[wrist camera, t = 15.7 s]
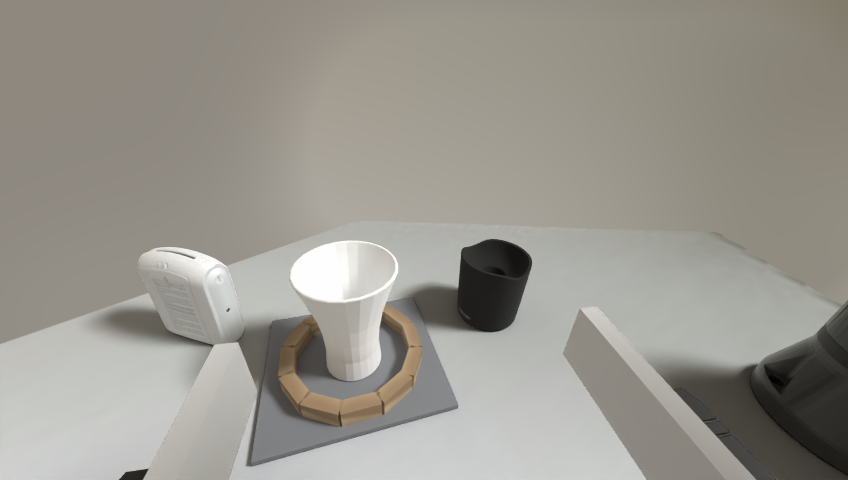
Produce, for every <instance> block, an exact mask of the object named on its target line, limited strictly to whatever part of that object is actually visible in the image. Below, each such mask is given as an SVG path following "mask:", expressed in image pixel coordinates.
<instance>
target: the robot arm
mask: <svg viewBox="0 0 848 480" xmlns="http://www.w3.org/2000/svg"><path fill="white" fill-rule="evenodd" d="M563 354H564V356H565V357H566V359H567V360H568V362H569V363H570V365H571V366H572V368H573V369H574V371H575V372H576V374H577V375H578V377H579V378H580V380H581V381H582V383H583V384H584V386H585V387H586V389H587V390H588V392H589V393H590V395H591V396H592V398H593V399H594V401H595V402H596V404H597V405H598V407H599V408H600V410H601V411H602V413H603V415H604V416H605V418H606V419H607V421H608V422H609V424H610V425H611V427H612V428H613V430H614V431H615V433H616V434H617V436H618V437H619V439H620V440H621V442H622V443H623V445H624V446H625V448H626V449H627V451H628V452H629V454H630V455H631V457H632V458H633V460H634V461H635V463H636V464H637V466H638V467H639V469H640V470H641V472H642V473H643V475H644V476H645V478H646V479H647V480H776V479H775V478H774V477H773V476H772V475H771V474H770V473H769V472H768V471H767V470H766V469H765V468H764V467H763V466H762V465H761V464H760V463H759V462H758V461H757V460H756V459H755V458H754V457H753V456H752V455H751V454H750V453H749V451H748V450H747V449H746V448H745V447H744V446H743V445H742V444H741V443H740V442H739V441H738V440H737V439H736V438H735V437H734V436H733V435H730V433H729V431H728V430H727V429H726V428H725V427H724V426H723V425H722V424H721V423H720V422H718V421H717V420H716V417H715V416H714V415H713V414H712V413H711V412H710V411H709V410H708V409H707V408H706V407H705V406H704V405H703V404H702V403H701V402H700V401H699V400H697V399H696V398H694V397H693V396H692V395H690V394H689V393H687V392H686V391H685V390H683V389H682V388H679V389H672V388H671V387H670V386H669V385H668V383H667V382H666V381H665V380H664V379H663V378H662V377H661V376H660V375H659V374H658V373H657V372H656V370H655V369H654V368H653V367H652V366H651V365H650V364H649V363H648V362H647V361H646V360H645V359H644V357H643V356H642V355H641V354H640V353H639V352H638V351H637V350H636V349H635V348H634V347H633V346H632V344H631V343H630V342H629V341H628V340H627V339H626V338H625V337H624V336H623V335H622V334H621V333H620V331H619V330H618V329H617V328H616V327H615V326H614V325H613V324H612V323H611V322H610V321H609V320H608V318H607V317H606V316H605V315H604V314H603V313H602V312H601V311H600V310H599V309H598V308H597V307H588V308H580V309H579V312H578V315H577V317H576V320H575V323H574V325H573V328H572V331H571V333H570V336H569V339H568V341H567V344H566V347H565V349H564V352H563ZM750 382H751V386H752V389H753V391H754V394H755V395H756V397H757V399H758V400H759V402H760V403H761V405H762V406H763V407H764V408H765V410H766V411H767V412H768V413H769V414H770V415H771V417H772V418H773V419H774V420H775V421H776V422H777V423H778V424H779V425H780V426H781V427H783V428H784V429H785V430H786V431H787V432H788V433H789V434H790V435H792V436H793V437H794V438H795V439H796V440H798V441H799V442H800V443H801V444H803V445H804V446H805V447H807V448H808V449H809V450H811V451H812V452H813V453H815V454H816V455H818V456H819V457H821V458H822V459H823V460H825V461H827V462H828V463H830V464H831V465H833V466H834V467H836V468H838V469H839V470H841V471H843V472H844V473H846V474H848V301H847V302H846V303H845V304H844V305H843V306H842V307H841V308H840V309H839V310H838V311H837V312H836V313H835V314H834V315H833V316H832V317H831V318H830V319H829V320H828V321H827V323H826V324H825V325H824V326H823V327H822V328H821V329H820V330H819V331H818V332H817V333H816V334H815V335H814V336H812V337H809V338H807V339H805V340H803V341H800V342H798V343H796V344H794V345H791V346H789V347H787V348H785V349H782V350H780V351H778V352H776V353H773V354H771V355H769V356H767V357H766V358H764V359H763V360H762V361H761V362H760V363H759V364H758V365H757V367H756V368H755V369H754V370H753V371H752V373H751V376H750ZM256 393H257V389H256V386H255V384H254V381H253V379H252V376H251V374H250V371H249V369H248V366H247V363H246V361H245V358H244V356H243V353H242V351H241V348H240V346H239V343H238V342H235V343H225V344H215V345H214V346H213V348H212V350H211V352H210V354H209V356H208V357H207V359H206V361H205V363H204V365H203V367H202V369H201V371H200V373H199V374H198V376H197V378H196V380H195V382H194V384H193V386H192V388H191V390H190V392H189V393H188V395H187V397H186V399H185V401H184V403H183V405H182V407H181V409H180V411H179V412H178V414H177V416H176V418H175V420H174V422H173V424H172V426H171V428H170V430H169V431H168V433H167V435H166V437H165V439H164V441H163V443H162V445H161V447H160V449H159V450H158V452H157V454H156V456H155V458H154V460H153V462H152V464H151V466H150V468H149V469H144V470H137V471H131V472H126V473H125V474H124V475H123V476H122V477H121V478H120V479H119V480H229V476H230V473H231V470H232V467H233V464H234V461H235V458H236V455H237V452H238V449H239V446H240V443H241V440H242V436H243V433H244V430H245V427H246V424H247V421H248V418H249V415H250V412H251V409H252V406H253V403H254V400H255V396H256Z"/></svg>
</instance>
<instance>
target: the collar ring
mask: <svg viewBox="0 0 848 480" xmlns="http://www.w3.org/2000/svg"><path fill="white" fill-rule="evenodd" d="M381 322H382V323H385V324H387V325H388V326H389V327H391V328H392V329H393V330H394V331H396V332H397V333H398V334H399V335H401V336H402V337H403V340H404V343H405V346H406V349H407V355H406V358H405V361H404V364H403V367H402V370H401V371H400V372H399V373H398V374H397V375H396V376H394V377H393V378H392V379H391V380H390V381H388V382H387V383H386V384H385V385H384V386H383V387H381V388H380V389H379V390H378V391H376V392H372V393H368V394H364V395H360V396H356V397H352V398H348V399H344V400H340V399H336V398H332V397H328V396H324V395H320V394H316V393H313V392H310V391H309V390H308V389H307V387H306V386H305V385H304V384H303V382H302V381H301V380H300V379H299V378H298V376H297V358H298V356H299V355H300V354H301V352H302V351H303V349H304V348H305V347H306V345H307V344H308V342H309V341H310V340H311V338H312V337H313V336H314V335H316V334H318V333H320V332H321V330H320V328H319V326H318V324H317V322H316V320H315V319H314V317H313V316H310V317H308V318H306V319H304V320H303V322H300V323H299V325H298V326H297V327H296V328H295V330H294V331H293V332H292V334H291V335H290V336H289V337H288V339H287V340H286V341H285V342H284V344H283V345H282V347H281V353H280V362H279V372H278V378H279V382H280V385H281V389H282V391H283V392H284V394H285V395H286V396H287V398H288V399H289V401H290V402H291V403H292V405H293V406H294V407H295V409H296V410H297V411H298V413H299V414H300V416H301V415H302V417H305V418H308V419H312V420H316V421H319V422H323V423H327V424H331V425H334V426H338V427H340V424H341V422H342V427H343V426H347V425H351V424H354V423H358V422H362V421H366V420H369V419H373V418H377V417H380V416H382V412H383V413H384V414H386V413H387V412H388V411H389V410H390V409H391V408H392V407H394V406H395V405H396V404H397V403H398V402H399V401H400V400H401V399H402V398H403V397H404V396H405V395H407V394H408V393H409V392H410V391H411V390H412V387H414V383H415V380H416V376H417V373H418V369H419V366H420V362H421V359H422V344H421V341H420V339H419V336H418V333H417V331H416V328H415V326H414V323H413V322H412V320H410V319H409V318H408V317H406V316H405V315H403V314H402V313H401V312H399V311H398V310H396V309H395V308H394V307H392V306H391V307H390V305H385V307H384V310H383V312H382V317H381Z"/></svg>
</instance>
